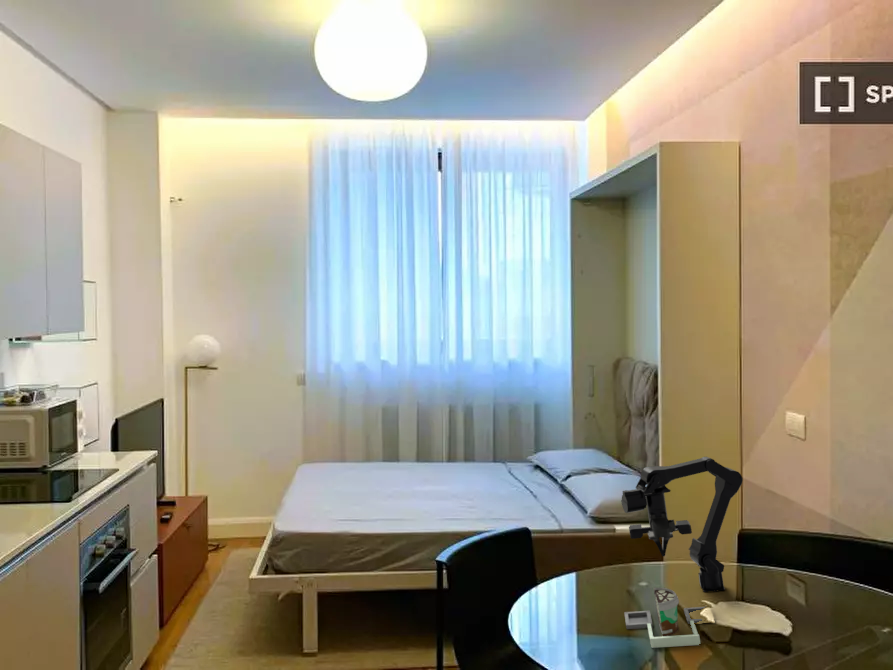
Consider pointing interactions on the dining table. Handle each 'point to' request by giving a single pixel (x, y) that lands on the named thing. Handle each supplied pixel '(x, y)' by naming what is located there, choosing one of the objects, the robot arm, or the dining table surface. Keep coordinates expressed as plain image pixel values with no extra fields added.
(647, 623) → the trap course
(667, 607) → the food container
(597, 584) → the dining table surface
